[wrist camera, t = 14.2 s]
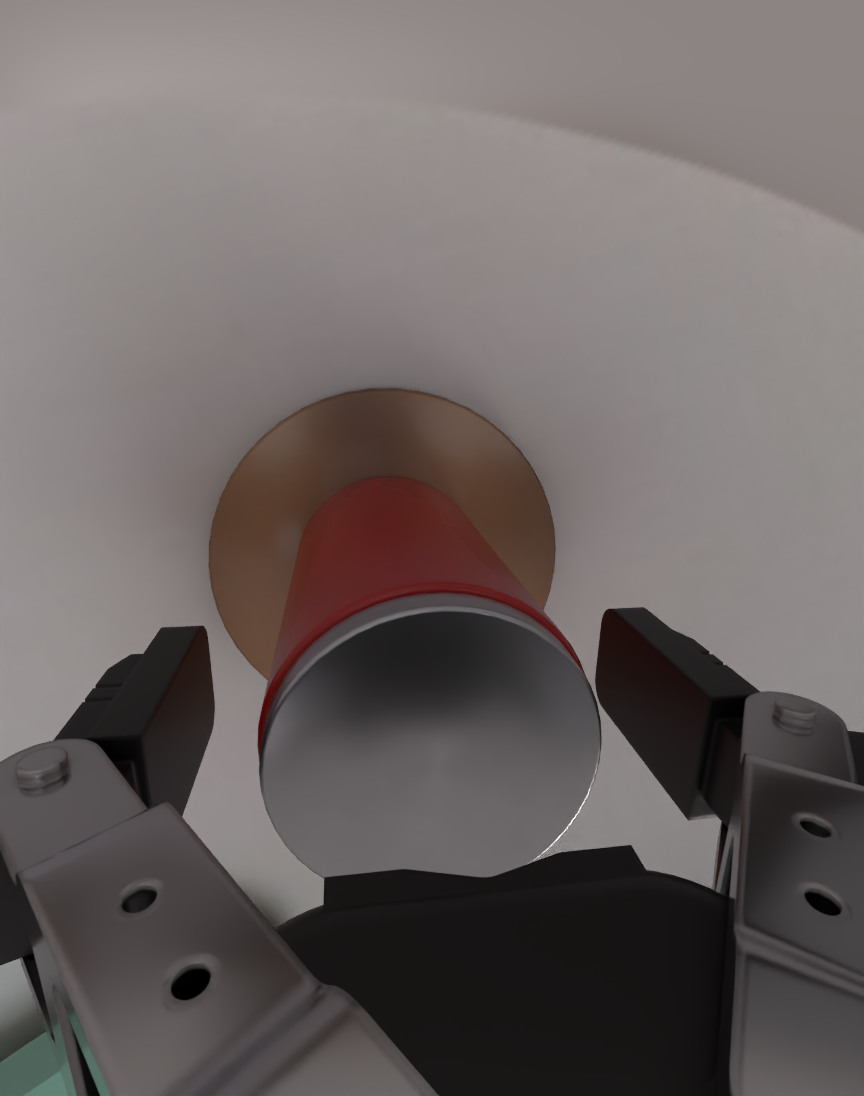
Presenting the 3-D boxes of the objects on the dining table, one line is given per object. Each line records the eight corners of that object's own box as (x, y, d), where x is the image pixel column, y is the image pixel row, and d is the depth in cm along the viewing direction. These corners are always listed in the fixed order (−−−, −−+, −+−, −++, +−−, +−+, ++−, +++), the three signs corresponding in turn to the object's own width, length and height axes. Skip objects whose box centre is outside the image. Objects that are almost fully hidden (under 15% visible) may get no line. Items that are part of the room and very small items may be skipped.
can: (445, 449, 16) (561, 543, 8) (498, 610, 18) (641, 833, 9) (266, 514, 16) (183, 684, 8) (337, 671, 18) (334, 955, 9)
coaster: (496, 336, 16) (502, 334, 16) (583, 642, 19) (590, 650, 19) (147, 462, 16) (140, 466, 15) (296, 752, 19) (294, 764, 18)
